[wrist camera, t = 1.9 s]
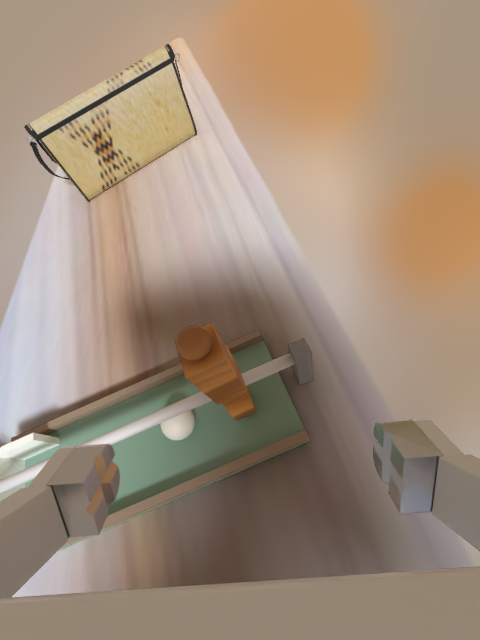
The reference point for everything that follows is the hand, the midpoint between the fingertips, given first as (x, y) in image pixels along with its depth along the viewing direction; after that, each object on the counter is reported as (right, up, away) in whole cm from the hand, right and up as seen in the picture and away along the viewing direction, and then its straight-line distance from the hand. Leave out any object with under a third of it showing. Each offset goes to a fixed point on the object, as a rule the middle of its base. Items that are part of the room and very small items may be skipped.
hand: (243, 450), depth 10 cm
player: (0, -5, +24) cm, 25 cm away
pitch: (-10, -10, +26) cm, 29 cm away
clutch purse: (-21, +36, +54) cm, 68 cm away
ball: (-7, -7, +24) cm, 25 cm away
